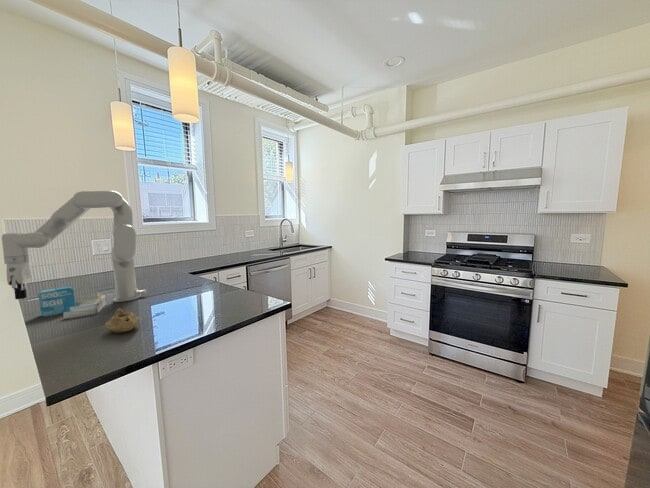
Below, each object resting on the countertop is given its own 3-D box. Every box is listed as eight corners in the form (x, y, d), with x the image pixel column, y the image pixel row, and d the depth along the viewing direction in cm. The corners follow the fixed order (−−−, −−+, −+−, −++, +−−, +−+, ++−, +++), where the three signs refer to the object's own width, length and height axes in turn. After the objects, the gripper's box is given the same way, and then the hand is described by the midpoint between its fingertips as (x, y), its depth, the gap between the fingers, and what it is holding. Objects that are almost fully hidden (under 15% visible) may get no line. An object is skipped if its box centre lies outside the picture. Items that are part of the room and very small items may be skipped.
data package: (41, 317, 127) (38, 292, 125) (41, 315, 130) (37, 291, 128) (76, 310, 136) (72, 287, 134) (74, 308, 139) (71, 285, 137)
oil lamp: (119, 339, 100) (116, 319, 99) (99, 332, 107) (97, 313, 106) (149, 328, 110) (147, 309, 109) (130, 322, 117) (128, 304, 116)
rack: (105, 303, 145) (104, 294, 145) (97, 313, 129) (96, 303, 129) (76, 307, 140) (75, 297, 139) (64, 319, 123) (62, 307, 123)
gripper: (20, 261, 119) (24, 301, 121) (35, 257, 132) (39, 293, 134) (-5, 262, 116) (0, 304, 117) (13, 258, 129) (17, 295, 130)
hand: (21, 298), depth 126 cm, fingers closed
